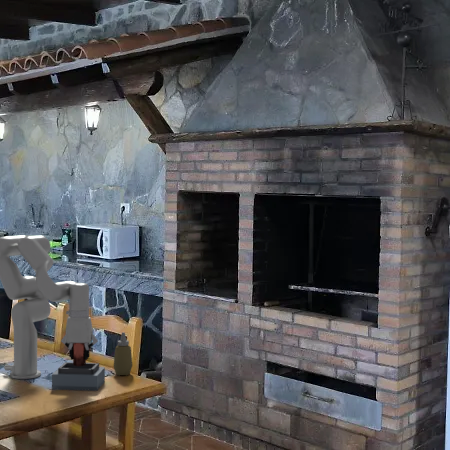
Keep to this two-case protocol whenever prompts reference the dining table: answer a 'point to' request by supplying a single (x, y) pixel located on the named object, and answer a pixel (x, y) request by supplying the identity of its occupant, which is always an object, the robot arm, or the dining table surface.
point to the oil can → (79, 354)
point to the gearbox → (78, 377)
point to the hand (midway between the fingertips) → (79, 358)
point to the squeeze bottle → (123, 357)
